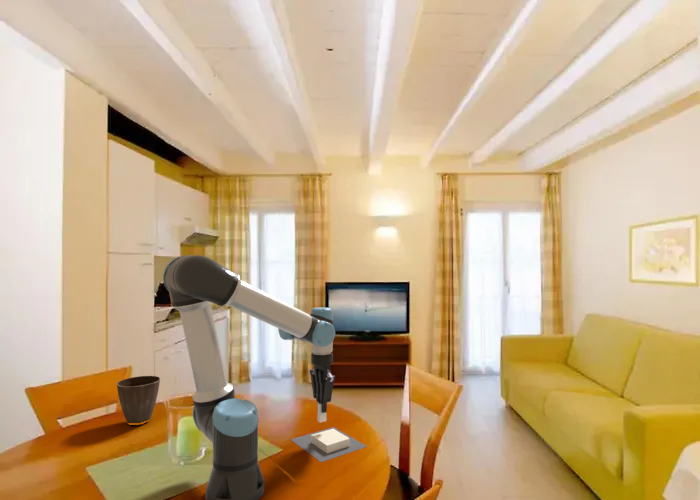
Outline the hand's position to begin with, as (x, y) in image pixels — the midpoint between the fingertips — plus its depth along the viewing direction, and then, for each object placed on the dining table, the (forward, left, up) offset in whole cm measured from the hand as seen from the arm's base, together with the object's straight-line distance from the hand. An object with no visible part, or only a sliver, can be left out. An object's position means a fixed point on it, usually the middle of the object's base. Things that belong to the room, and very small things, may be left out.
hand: (321, 421), depth 143 cm
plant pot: (-48, +56, -7) cm, 74 cm away
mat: (0, -4, -7) cm, 8 cm away
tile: (0, 0, -5) cm, 5 cm away
